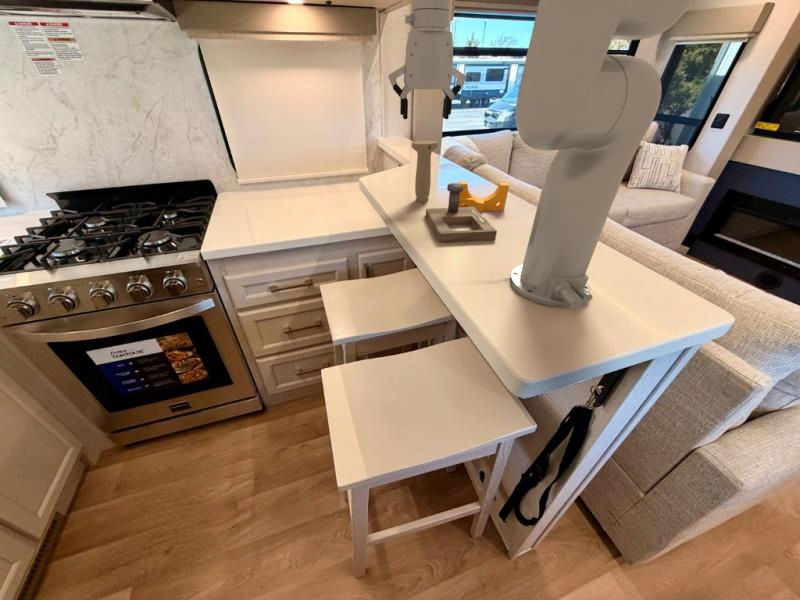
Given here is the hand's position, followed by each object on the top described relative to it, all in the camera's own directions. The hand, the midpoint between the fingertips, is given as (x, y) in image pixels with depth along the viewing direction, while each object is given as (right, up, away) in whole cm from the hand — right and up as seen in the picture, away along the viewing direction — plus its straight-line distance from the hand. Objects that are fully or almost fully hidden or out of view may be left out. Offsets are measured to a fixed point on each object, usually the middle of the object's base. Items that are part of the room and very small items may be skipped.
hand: (425, 118), depth 77 cm
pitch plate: (+7, -26, -2) cm, 27 cm away
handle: (0, -17, +11) cm, 20 cm away
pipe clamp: (+15, -19, +8) cm, 26 cm away
